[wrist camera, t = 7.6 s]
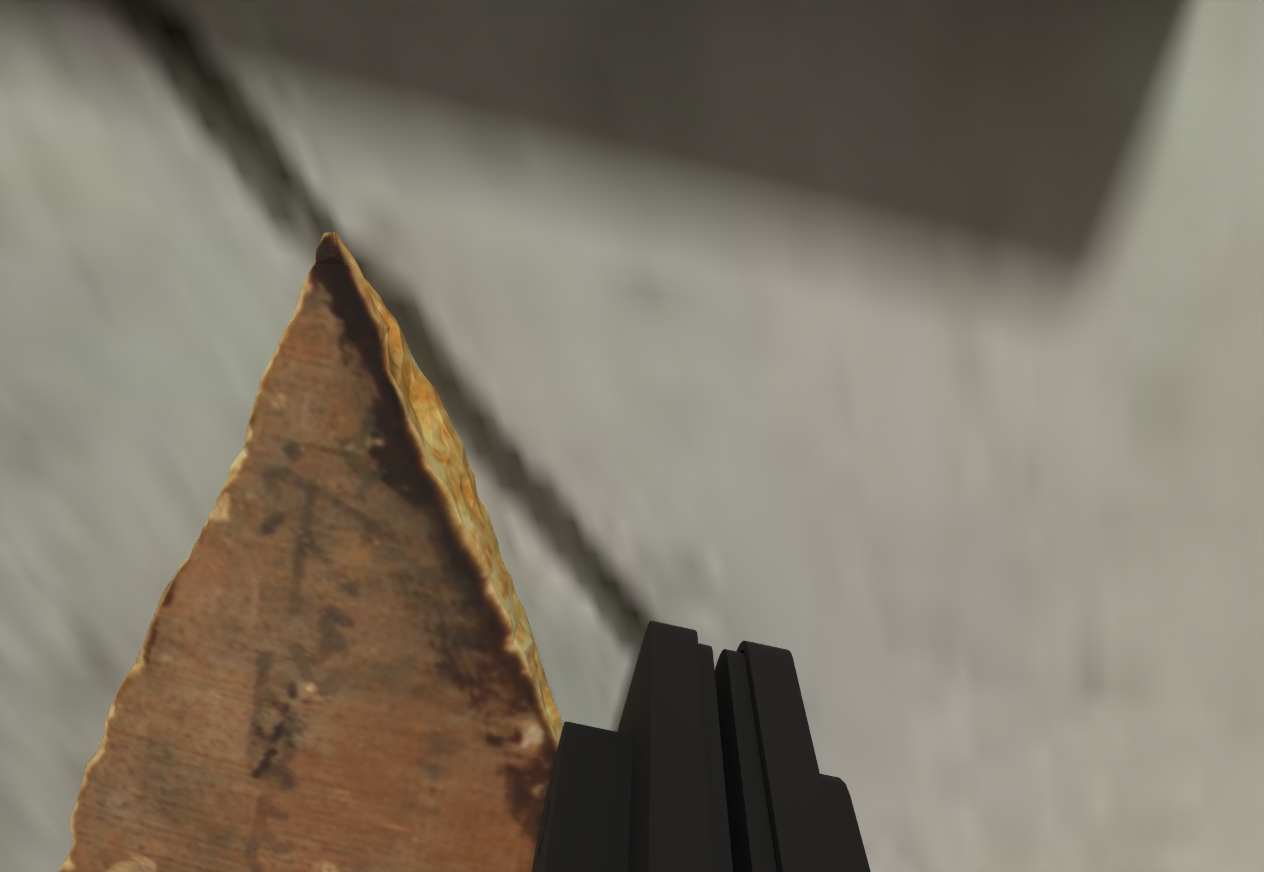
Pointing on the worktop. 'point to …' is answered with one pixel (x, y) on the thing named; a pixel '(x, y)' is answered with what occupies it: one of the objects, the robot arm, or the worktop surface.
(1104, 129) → the worktop surface
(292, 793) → the shard
